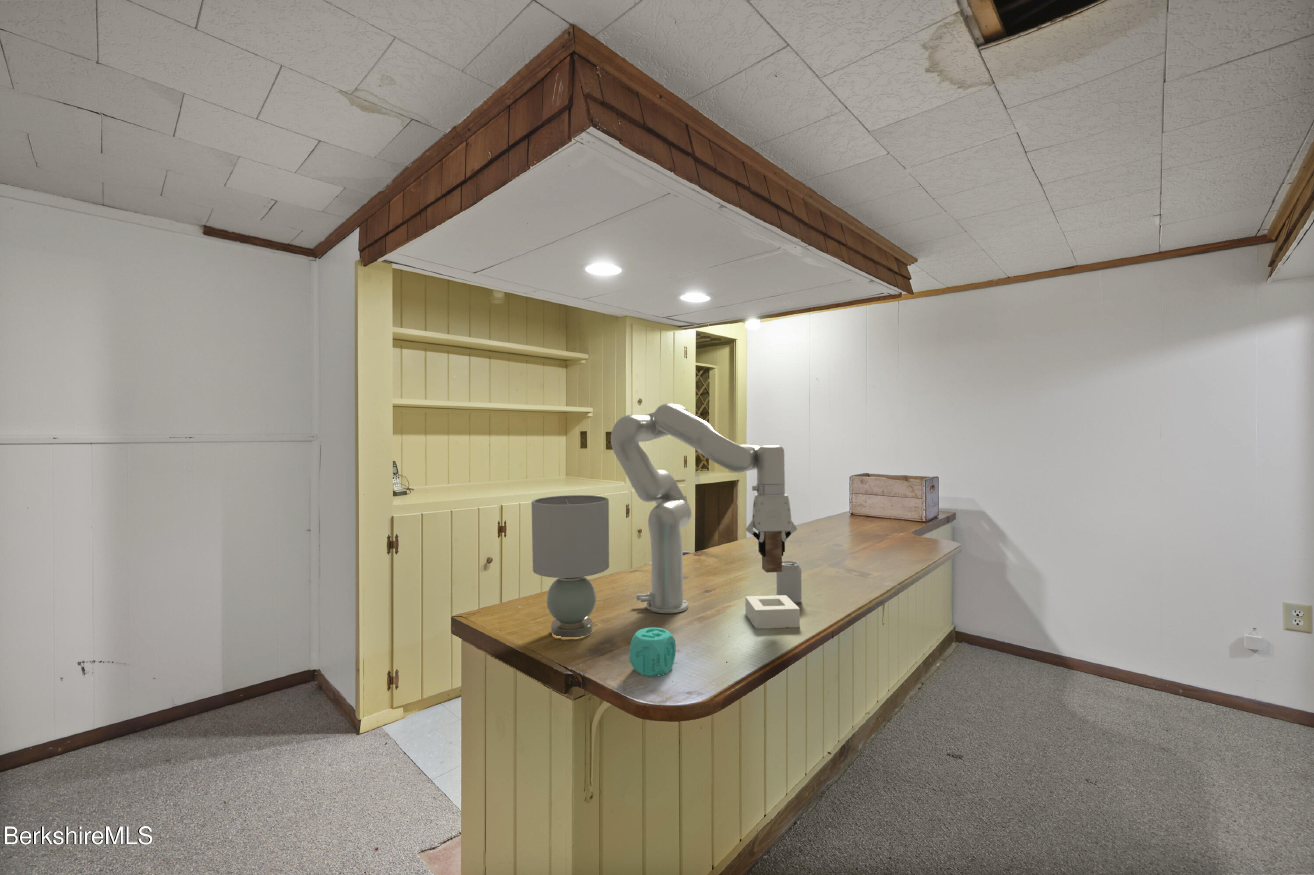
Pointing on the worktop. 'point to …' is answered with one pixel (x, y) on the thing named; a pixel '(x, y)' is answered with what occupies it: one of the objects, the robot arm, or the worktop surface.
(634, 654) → the decorative dice
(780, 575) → the can
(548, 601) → the lamp
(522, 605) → the worktop surface
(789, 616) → the socket block
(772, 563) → the peg
